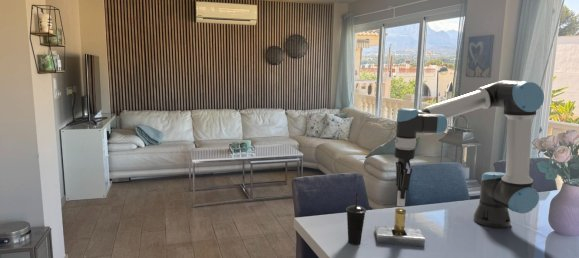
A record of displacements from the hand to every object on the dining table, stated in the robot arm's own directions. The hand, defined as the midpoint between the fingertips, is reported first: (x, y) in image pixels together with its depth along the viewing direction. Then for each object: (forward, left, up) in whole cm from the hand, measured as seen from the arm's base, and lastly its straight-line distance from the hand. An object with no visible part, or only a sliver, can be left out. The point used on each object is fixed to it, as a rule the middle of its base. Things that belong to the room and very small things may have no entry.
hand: (400, 205), depth 166 cm
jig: (0, 0, -14) cm, 14 cm away
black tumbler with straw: (+18, +7, -14) cm, 24 cm away
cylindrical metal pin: (0, 0, -14) cm, 14 cm away
